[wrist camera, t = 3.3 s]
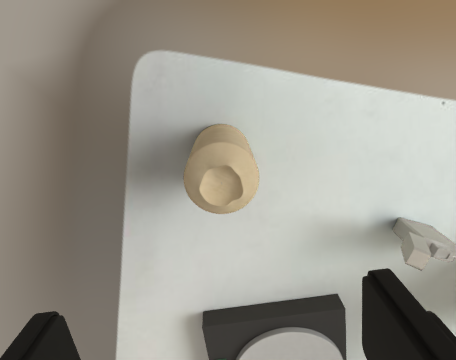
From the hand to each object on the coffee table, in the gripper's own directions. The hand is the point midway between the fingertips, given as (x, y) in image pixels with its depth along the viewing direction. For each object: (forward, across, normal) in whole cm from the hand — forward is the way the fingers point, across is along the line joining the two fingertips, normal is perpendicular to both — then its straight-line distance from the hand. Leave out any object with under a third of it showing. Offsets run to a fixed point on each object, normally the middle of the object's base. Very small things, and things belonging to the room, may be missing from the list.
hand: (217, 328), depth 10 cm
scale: (+22, -3, +27) cm, 35 cm away
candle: (+22, 0, 0) cm, 23 cm away
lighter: (+22, -18, +11) cm, 31 cm away
